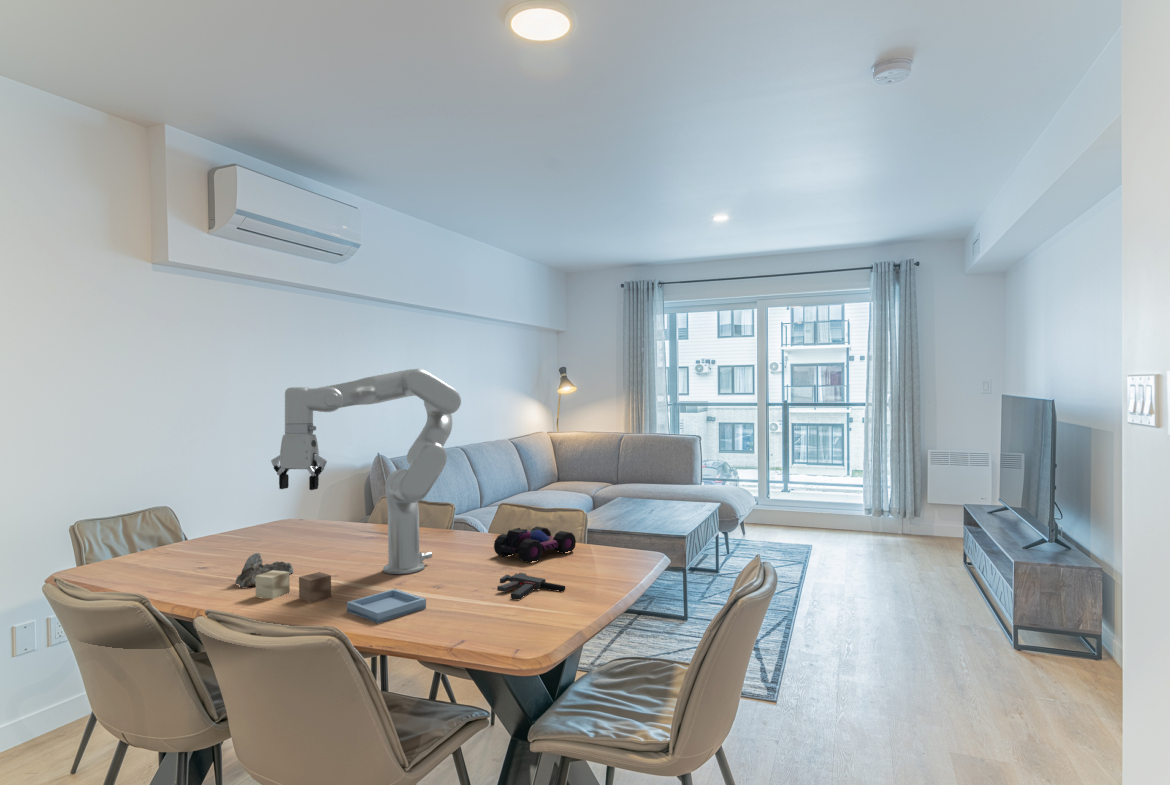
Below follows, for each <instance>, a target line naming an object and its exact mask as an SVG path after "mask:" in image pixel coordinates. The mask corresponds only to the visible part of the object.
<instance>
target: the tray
mask: <svg viewBox="0 0 1170 785" xmlns="http://www.w3.org/2000/svg"><path fill="white" fill-rule="evenodd" d="M425 609H427V598H425V597H422V596H419V595H415V594H412V593H410V592H406V591H403V590H401V589H396V588H393V589H389V590H386V591H381V592H379V593H375V594H371V595H368V596H365V597H361V598H356V599H353V600H350V601H349V600H348V601H347V602H346V613H349V614H350V615H351V614H352V615H353V616H356V617H360V618H362V619H364V620H368V621H370V622H373V623H376V624H381V623H385V622H387V621H388V622H389V621H391V620H393V619H397V618H400V617H403V616H405V615H406V616H407V615H409V614H412V613H415V612H419V611H423V610H425Z"/></svg>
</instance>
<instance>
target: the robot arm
mask: <svg viewBox="0 0 1170 785" xmlns="http://www.w3.org/2000/svg"><path fill="white" fill-rule="evenodd" d="M414 396H416V397H417V398H419V399H420V400H422V401H423V406H424V407H425V410H426V416H427V418H426V422H425V425H424V426H423V428H422V430H421V431H420V433H419V434H418V436H417V438H416V439H415V441H414V442H412V443H413V444H411V446H410V448H409V449H408V451H407V454H406V461H407V463H408V465H409V467H408V469H404V468H400V469H399V468H398V469H396V470H394V471H391V473H390V474H389V475H388V476H387V478H386V481H385V488H384V489H385V490H384V491H385V499H386V506H387V507H386V508H387V542H388V543H387V552H388V553H387V554H388V555H387V556H388V563H387V564H385V565H383V567H382V569H383V572H384V573H386V574H390V575H405V574H407V575H408V574H413V573H416V572H420V571H423V569H424V568H425V565H426V564H425V562H424V561H425V560H428V559H432V557H433V553H432V552H431V551H428V552H420V513H419V512H420V510H419V502H420V501H422V500H423V499H424V498H425V497H426V496H427V495H428V494H429V493H430V491H431V490H432V488H433V487H434V485H435V483H436V481H437V480H438V479H439V477H440V475H441V473H442V472H443V470H444V469H445V466H446V463H447V461H448V454H447V451H446V449H445V447H444V446H445V444H446V442H447V440H449V437H450V435H451V432H452V428H453V416H452V414H454V413H456V412H457V411H458V410H459V409H460V407H461V404H462V398H461V396H460V393H459V392H458V391H457V390H456V389H455V388H454V387H452V386H451V385H449V384H447V383H446V382H444V381H443V380H441V379H439V378H438V377H437V376H435V375H433V374H431V373H430V372H428V371H427V370H425V369H422V368H413V369H412V368H411V369H404V370H399V371H393V372H388V373H383V374H377V375H372V376H367V377H363V378H360V379H356V380H353V381H352V380H351V381H347V382H342V383H337V384H332V385H325V386H320V387H312V388H310V387H302V386H301V387H300V386H298V387H288V388H287V389H286V390H285V392H284V434H283V435H282V437H281V438H282V439H281V443H280V451H279V452H280V453H279V455H278V456H276V457H274V458H272V459H271V461H270V462H271V465H272V467H273V470H274V471H275V472H276V475H277V476H278V484H279V486H278V487H279V488H278V489H279V490H286V489H288V488H289V481H290V480H289V474H288V472H289V471H290V470H307V471H308V472H309V474H310V475H309V477H308V479H309V482H308V488H309V490H310V491H314V490H318V489H319V482H320V481H319V479H320V478H319V476H320V475H321V473H322V472H323V471H324V470H325V467H326V465H327V462H328V461H327V459H325V458H323V457H322V456H320V451H319V444H318V443H319V442H318V439H317V436H316V434H314V431H317V426H316V425H314V412H319V413H333V412H336V411H337V410H339V409H342V408H346V407H353V406H362V405H366V406H367V405H373V404H380V403H385V402H388V401H389V402H390V401H394V400H395V401H396V400H399V399H404V398H409V397H414Z"/></svg>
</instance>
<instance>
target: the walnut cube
mask: <svg viewBox="0 0 1170 785" xmlns="http://www.w3.org/2000/svg"><path fill="white" fill-rule="evenodd" d="M328 597H330V598H332V576H331V575H330V574H327V573H324V572H321V571H319V572H315V573H314V572H313V573H310V574H305V575H302V576H298V599H299V598H300V599H299V600H301V601H304V600H305V601H304V602H307V603H309V604H312V603H314V602H318V600H319V601H321V600H322V599H323V600H325V598H326V599H329V598H328Z"/></svg>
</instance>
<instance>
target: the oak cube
mask: <svg viewBox="0 0 1170 785" xmlns="http://www.w3.org/2000/svg"><path fill="white" fill-rule="evenodd" d="M290 582H291V581H290V575H289V572H285V571H275V570H272V571H269V572H266V573H263V574H260V575H257V576H256V587H255V598H256V597H262V598H261V599H265V598H271V599H270V600H275V599H277V598H276V597H278V598H280V597H283V596H285V595H284V594H286V595H288V594H290V593H289V592H291V591H290V590H291V589H290V588H291V587H290ZM287 593H288V594H287ZM282 595H283V596H282ZM279 596H280V597H279ZM274 598H275V599H274Z"/></svg>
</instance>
